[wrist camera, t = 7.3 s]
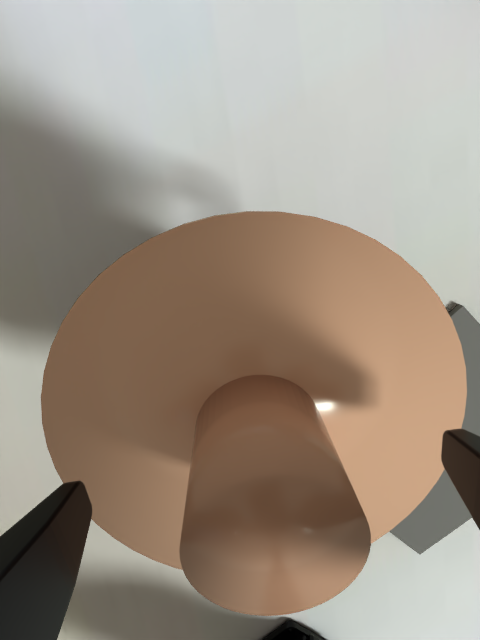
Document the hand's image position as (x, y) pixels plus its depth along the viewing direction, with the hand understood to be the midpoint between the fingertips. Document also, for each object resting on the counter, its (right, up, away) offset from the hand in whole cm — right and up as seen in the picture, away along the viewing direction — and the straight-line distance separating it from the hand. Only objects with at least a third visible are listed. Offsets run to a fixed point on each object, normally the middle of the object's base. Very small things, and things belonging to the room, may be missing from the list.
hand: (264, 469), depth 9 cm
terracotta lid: (0, +1, +2) cm, 2 cm away
